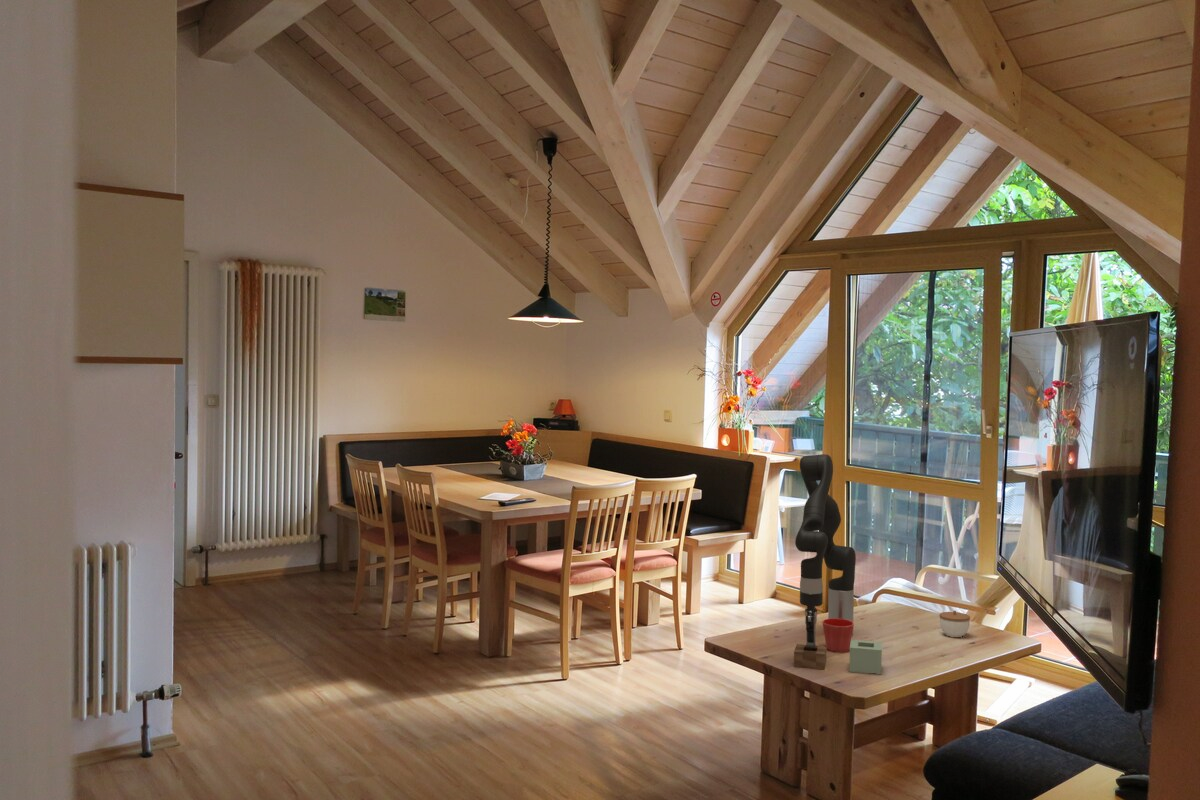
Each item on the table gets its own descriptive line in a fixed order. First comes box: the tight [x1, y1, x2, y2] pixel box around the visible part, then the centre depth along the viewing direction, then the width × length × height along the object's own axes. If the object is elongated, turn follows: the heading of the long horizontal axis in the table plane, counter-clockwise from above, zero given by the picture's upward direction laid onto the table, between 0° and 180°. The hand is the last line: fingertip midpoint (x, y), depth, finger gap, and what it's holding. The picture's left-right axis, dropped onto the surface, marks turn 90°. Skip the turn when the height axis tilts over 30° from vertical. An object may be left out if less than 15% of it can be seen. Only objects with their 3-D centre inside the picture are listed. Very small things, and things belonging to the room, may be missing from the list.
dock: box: [849, 639, 883, 675], centre depth 314 cm, size 10×10×8 cm
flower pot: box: [822, 618, 854, 653], centre depth 337 cm, size 11×11×10 cm
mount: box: [793, 643, 828, 670], centre depth 319 cm, size 10×10×5 cm
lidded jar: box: [939, 610, 971, 638], centre depth 356 cm, size 11×11×9 cm
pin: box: [805, 623, 817, 651], centre depth 319 cm, size 3×3×14 cm
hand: (810, 640), depth 319 cm, fingers closed on pin, 3 cm apart
